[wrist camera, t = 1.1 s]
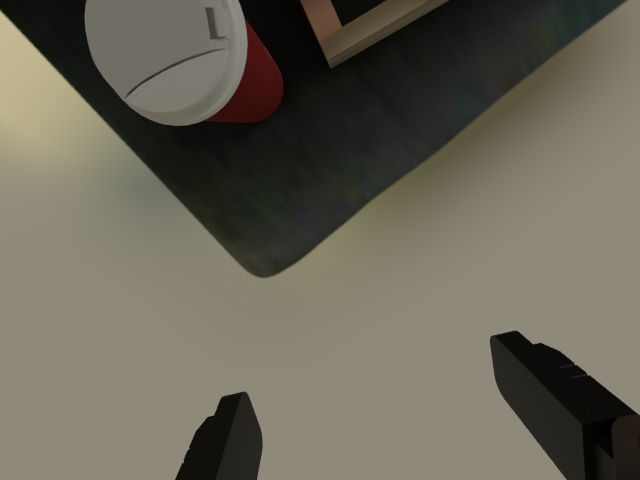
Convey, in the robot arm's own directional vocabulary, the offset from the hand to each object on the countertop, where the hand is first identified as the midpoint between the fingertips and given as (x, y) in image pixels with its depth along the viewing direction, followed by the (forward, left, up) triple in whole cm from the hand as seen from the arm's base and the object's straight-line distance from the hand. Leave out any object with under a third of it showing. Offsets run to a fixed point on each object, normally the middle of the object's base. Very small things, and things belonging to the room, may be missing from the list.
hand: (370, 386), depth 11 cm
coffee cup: (-16, -4, -23) cm, 28 cm away
